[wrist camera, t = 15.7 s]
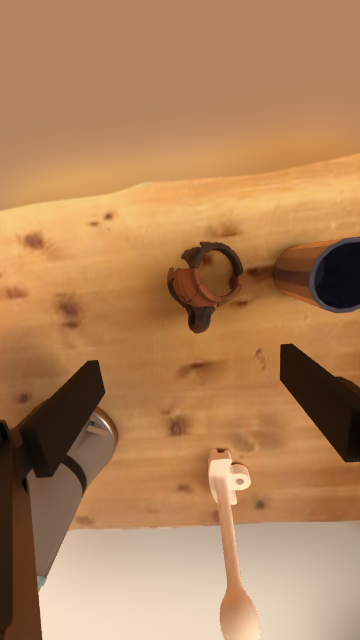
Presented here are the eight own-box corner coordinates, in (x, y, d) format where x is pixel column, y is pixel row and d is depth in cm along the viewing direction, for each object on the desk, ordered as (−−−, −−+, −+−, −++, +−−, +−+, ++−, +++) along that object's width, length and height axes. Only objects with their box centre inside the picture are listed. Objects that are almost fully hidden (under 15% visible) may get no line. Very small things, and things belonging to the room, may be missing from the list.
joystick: (204, 449, 40) (216, 625, 21) (245, 446, 39) (296, 625, 20) (212, 493, 43) (228, 682, 24) (249, 490, 42) (298, 684, 23)
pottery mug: (161, 250, 31) (185, 229, 24) (215, 257, 35) (251, 241, 27) (162, 332, 31) (186, 337, 24) (216, 330, 35) (251, 333, 28)
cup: (271, 298, 32) (306, 315, 22) (273, 247, 30) (312, 241, 20) (322, 294, 31) (381, 310, 21) (327, 242, 29) (394, 233, 20)
